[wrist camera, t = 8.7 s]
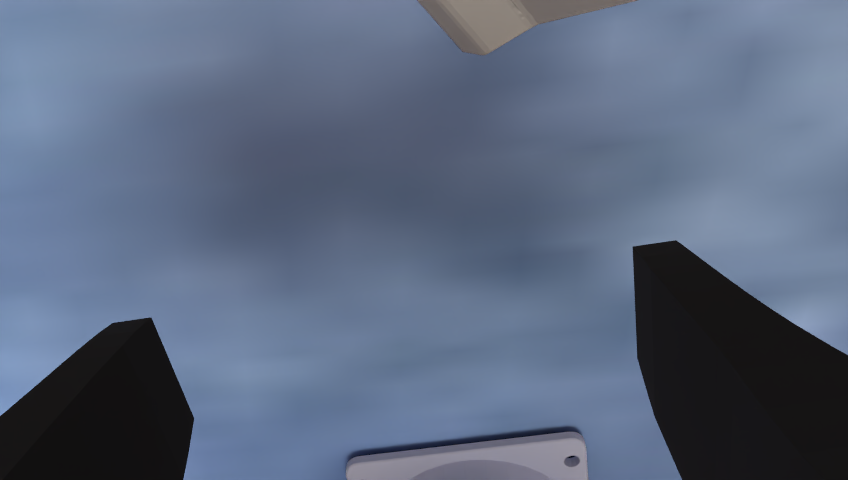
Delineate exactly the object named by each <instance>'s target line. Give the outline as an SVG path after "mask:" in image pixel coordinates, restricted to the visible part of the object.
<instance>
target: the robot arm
mask: <svg viewBox="0 0 848 480" xmlns="http://www.w3.org/2000/svg"><path fill="white" fill-rule="evenodd" d="M633 264H634V288H635V311H636V335H637V358H638V362H639V365H640V369H641V372H642V376H643V379H644V382H645V386H646V389H647V393H648V396H649V399H650V403H651V406H652V409H653V412H654V416H655V418H656V421H657V423H658V425H659V428H660V430H661V432H662V435H663V437H664V439H665V442H666V444H667V446H668V448H669V451H670V453H671V455H672V458H673V460H674V462H675V464H676V467H677V469H678V471H679V473H680V476H681V478H682V480H848V355H846V354H844V353H843V352H841V351H839V350H837V349H835V348H834V347H832V346H830V345H829V344H827V343H825V342H824V341H822V340H820V339H819V338H817V337H815V336H814V335H812V334H810V333H808V332H807V331H805V330H803V329H802V328H800V327H798V326H797V325H795V324H794V323H792V322H790V321H789V320H787V319H786V318H784V317H783V316H781V315H780V314H778V313H776V312H775V311H773V310H772V309H770V308H769V307H767V306H766V305H764V304H763V303H761V302H760V301H759V300H757V299H756V298H754V297H753V296H751V295H750V294H748V293H747V292H746V291H744V290H743V289H741V288H740V287H738V286H737V285H736V284H734V283H733V282H731V281H730V280H729V279H727V278H726V277H725V276H723V275H722V274H721V273H719V272H718V271H717V270H715V269H714V268H712V267H711V266H710V265H708V264H707V263H706V262H704V261H703V260H702V259H700V258H699V257H698V256H696V255H695V254H694V253H692V252H691V251H690V250H688V249H687V248H686V247H684V246H683V245H682V244H680V243H679V242H677V241H676V240H675V241H668V242H662V243H655V244H648V245H641V246H634V247H633ZM193 422H194V417H193V415H192V412H191V410H190V408H189V405H188V403H187V401H186V398H185V396H184V393H183V391H182V389H181V386H180V384H179V382H178V379H177V377H176V375H175V372H174V370H173V368H172V365H171V363H170V361H169V358H168V356H167V353H166V351H165V349H164V346H163V344H162V342H161V339H160V337H159V335H158V332H157V330H156V328H155V325H154V323H153V321H152V318H144V319H137V320H131V321H124V322H117V323H112V324H111V325H109V326H108V327H107V328H105V329H104V330H102V331H101V332H100V333H98V334H97V335H96V336H94V337H93V338H92V339H91V340H89V341H88V342H87V343H86V344H85V345H83V346H82V347H81V348H80V349H78V350H77V351H76V352H75V353H74V354H73V355H71V356H70V357H69V358H68V359H67V360H66V361H64V362H63V363H62V364H61V365H60V366H59V367H57V368H56V369H55V370H54V371H53V372H52V373H50V374H49V375H48V376H47V377H46V378H45V379H43V380H42V381H41V382H40V383H39V384H38V385H36V386H35V387H34V388H33V389H32V390H30V391H29V392H28V393H27V394H26V395H25V396H23V397H22V398H21V399H20V400H19V401H18V402H16V403H15V404H14V405H13V406H12V407H11V408H9V409H8V410H7V411H6V412H5V413H3V414H2V415H1V416H0V480H183V478H184V473H185V468H186V463H187V458H188V453H189V447H190V440H191V434H192V428H193ZM568 456H575V457H573V458H567V457H568ZM346 477H347V480H588V468H587V453H586V445H585V441H584V438H583V436H581V435H580V434H579V433H576V432H561V433H553V434H544V435H536V436H527V437H519V438H510V439H502V440H493V441H484V442H476V443H467V444H459V445H450V446H442V447H433V448H425V449H416V450H408V451H399V452H391V453H382V454H373V455H365V456H358V457H354V458H352V459H350V460H349V461H348V463H347V466H346Z"/></svg>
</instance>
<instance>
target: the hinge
mask: <svg viewBox="0 0 848 480" xmlns="http://www.w3.org/2000/svg"><path fill="white" fill-rule="evenodd" d="M417 1H418V2H419V3H420V4H421V5H422V6H423V7H424V8H425V10H426V11H427V12H428V13H429V14H430V15H431V16H432V18H433V19H434V20H435V21H436V22H437V23H438V24H439V26H440V27H441V28H442V29H443V30H444V31H445V32H446V33H447V35H448V36H449V37H450V38H451V39H452V40H453V41H454V43H455V44H456V45H457V46H458V47H459V48H460V49H461V50H462V52H466V53H472V54H478V55H486V54H488V53H490V52H492V51H493V50H495V49H497V48H498V47H500V46H502V45H503V44H505V43H507V42H508V41H510V40H512V39H513V38H515V37H517V36H518V35H520V34H522V33H523V32H525V31H527V30H528V29H530V28H532V27H534V26H536V25H538V24H542V23H546V22H550V21H554V20H558V19H562V18H567V17H571V16H575V15H579V14H583V13H587V12H592V11H596V10H600V9H604V8H608V7H612V6H617V5H621V4H625V3H629V2H633V1H638V0H417Z"/></svg>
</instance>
